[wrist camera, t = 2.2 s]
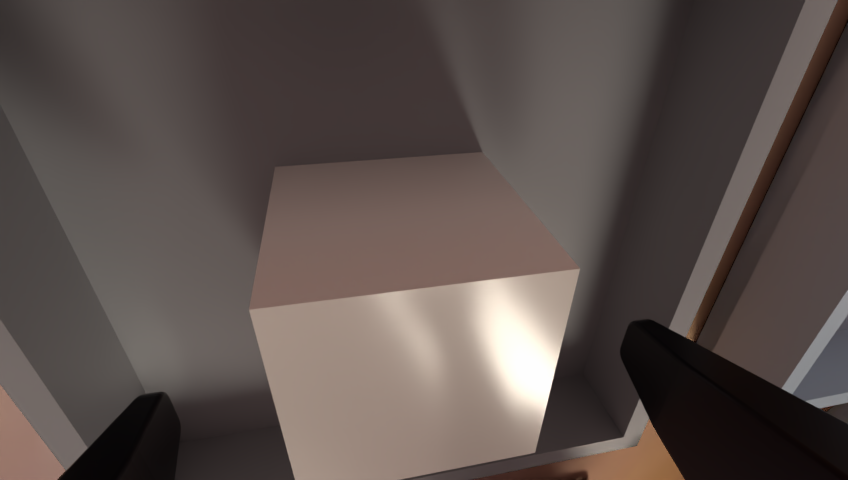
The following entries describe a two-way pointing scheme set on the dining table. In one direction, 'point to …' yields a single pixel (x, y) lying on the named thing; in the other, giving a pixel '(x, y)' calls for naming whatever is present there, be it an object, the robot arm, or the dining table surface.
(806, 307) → the bin
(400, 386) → the smooth beige block
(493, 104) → the bin
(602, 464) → the dining table surface
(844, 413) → the grey cylinder
